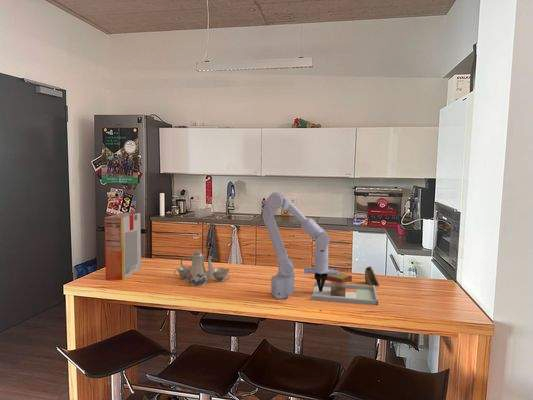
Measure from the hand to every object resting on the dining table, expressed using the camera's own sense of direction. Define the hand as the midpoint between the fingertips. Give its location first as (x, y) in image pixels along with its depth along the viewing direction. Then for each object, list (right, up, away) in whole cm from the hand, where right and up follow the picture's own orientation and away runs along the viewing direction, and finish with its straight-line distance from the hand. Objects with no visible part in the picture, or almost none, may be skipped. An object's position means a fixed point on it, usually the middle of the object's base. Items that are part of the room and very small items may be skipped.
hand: (320, 290), depth 161 cm
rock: (+26, -2, +16) cm, 31 cm away
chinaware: (-55, -1, +20) cm, 58 cm away
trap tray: (+10, -3, -2) cm, 10 cm away
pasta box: (-96, +1, +32) cm, 101 cm away
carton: (+9, -1, +22) cm, 24 cm away
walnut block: (+7, -1, -1) cm, 7 cm away
